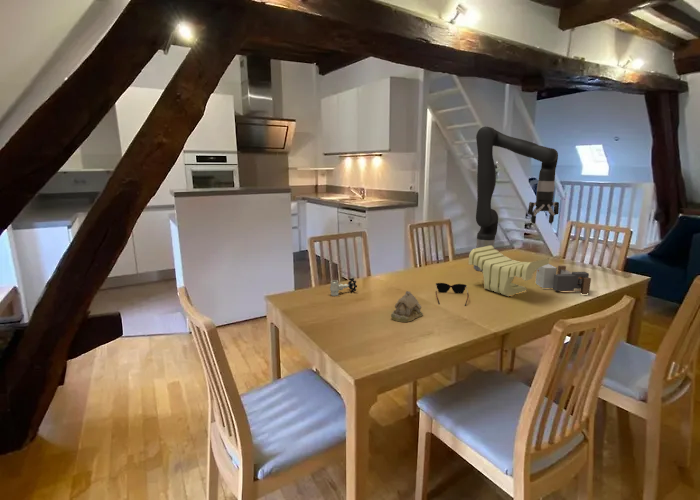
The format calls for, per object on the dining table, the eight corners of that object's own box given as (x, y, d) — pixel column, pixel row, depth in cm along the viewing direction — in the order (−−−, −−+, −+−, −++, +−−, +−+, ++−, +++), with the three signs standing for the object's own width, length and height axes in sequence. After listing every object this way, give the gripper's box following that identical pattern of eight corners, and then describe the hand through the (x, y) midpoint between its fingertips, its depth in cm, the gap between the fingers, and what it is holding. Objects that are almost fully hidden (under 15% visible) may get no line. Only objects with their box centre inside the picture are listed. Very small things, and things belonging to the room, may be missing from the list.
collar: (556, 290, 180) (558, 274, 178) (552, 288, 183) (554, 272, 181) (586, 290, 180) (588, 273, 179) (582, 288, 183) (584, 271, 182)
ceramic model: (400, 307, 165) (400, 284, 163) (426, 312, 159) (427, 288, 157) (386, 319, 153) (386, 294, 151) (413, 325, 148) (414, 299, 145)
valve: (333, 297, 176) (357, 293, 182) (333, 283, 175) (357, 279, 181) (327, 293, 182) (350, 289, 188) (327, 279, 180) (350, 275, 186)
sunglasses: (466, 294, 181) (466, 284, 179) (469, 309, 166) (469, 298, 164) (435, 292, 183) (435, 282, 182) (435, 307, 168) (435, 296, 167)
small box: (554, 289, 185) (557, 267, 183) (542, 289, 185) (545, 267, 183) (546, 284, 193) (548, 263, 190) (534, 284, 193) (537, 263, 190)
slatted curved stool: (467, 285, 192) (469, 249, 188) (488, 279, 200) (491, 245, 196) (522, 304, 167) (527, 263, 163) (544, 296, 176) (549, 257, 172)
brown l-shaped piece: (567, 296, 176) (569, 278, 174) (543, 281, 197) (545, 265, 195) (589, 295, 177) (592, 278, 175) (563, 281, 197) (565, 265, 195)
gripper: (555, 189, 198) (552, 221, 201) (527, 189, 197) (524, 222, 201) (564, 190, 190) (560, 224, 194) (534, 191, 190) (531, 224, 194)
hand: (542, 223), depth 198 cm, fingers open, 8 cm apart
